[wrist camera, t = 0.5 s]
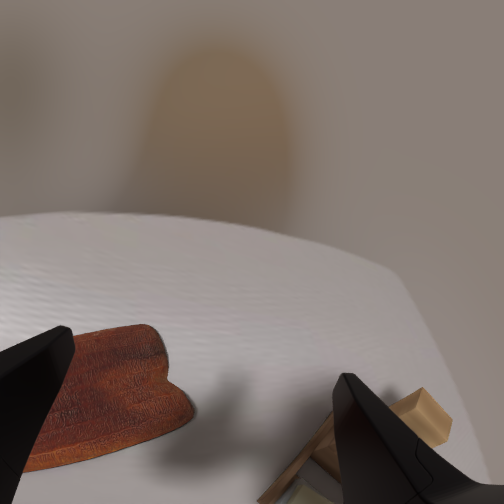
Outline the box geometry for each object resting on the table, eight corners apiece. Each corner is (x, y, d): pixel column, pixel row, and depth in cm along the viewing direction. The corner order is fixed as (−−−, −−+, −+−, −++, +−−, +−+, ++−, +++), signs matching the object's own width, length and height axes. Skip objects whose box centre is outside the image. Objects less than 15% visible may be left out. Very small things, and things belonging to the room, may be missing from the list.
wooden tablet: (149, 323, 27) (152, 314, 26) (199, 421, 22) (205, 416, 21) (-101, 366, 9) (-109, 357, 8) (-80, 482, 4) (-89, 479, 3)
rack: (320, 549, 15) (352, 550, 13) (256, 500, 18) (282, 498, 15) (380, 456, 25) (408, 445, 22) (332, 410, 27) (358, 395, 25)
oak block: (375, 469, 20) (447, 441, 16) (345, 441, 22) (415, 407, 17) (385, 450, 22) (452, 419, 18) (356, 423, 24) (422, 386, 19)
